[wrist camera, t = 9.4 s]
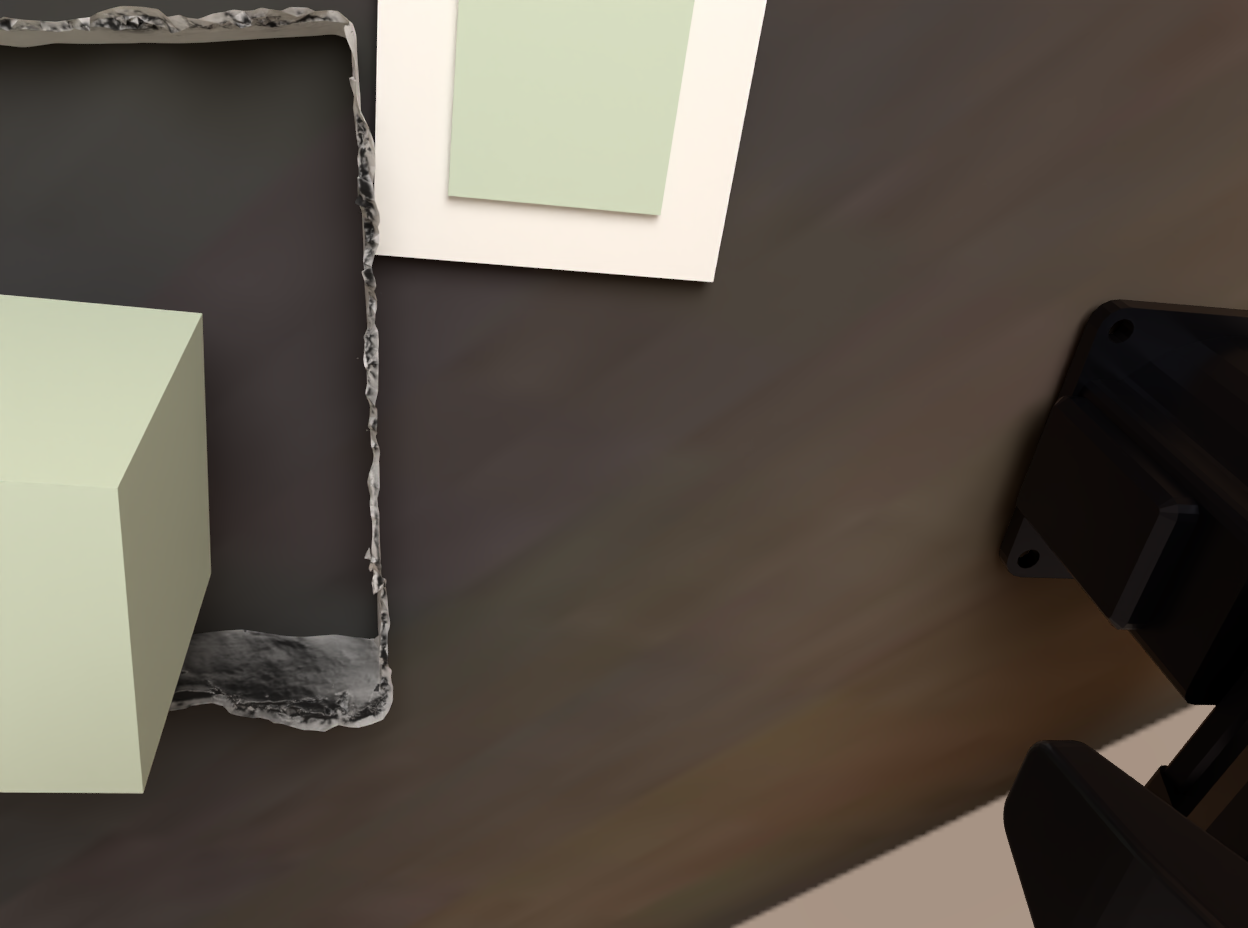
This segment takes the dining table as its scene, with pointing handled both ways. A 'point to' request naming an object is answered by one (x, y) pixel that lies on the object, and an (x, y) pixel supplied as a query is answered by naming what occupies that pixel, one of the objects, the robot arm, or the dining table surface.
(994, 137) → the dining table surface
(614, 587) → the dining table surface
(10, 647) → the sage block
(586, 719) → the dining table surface
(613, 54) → the card
